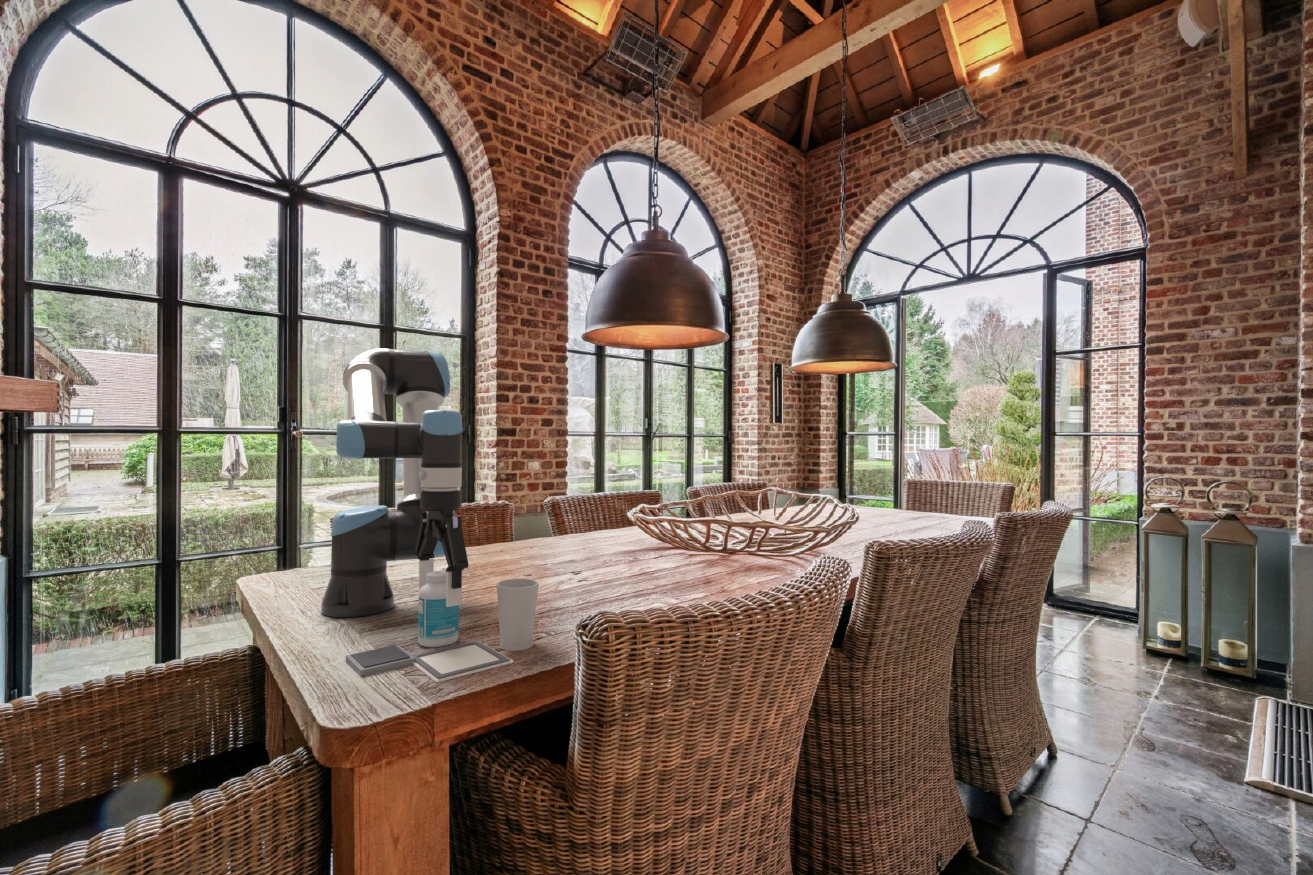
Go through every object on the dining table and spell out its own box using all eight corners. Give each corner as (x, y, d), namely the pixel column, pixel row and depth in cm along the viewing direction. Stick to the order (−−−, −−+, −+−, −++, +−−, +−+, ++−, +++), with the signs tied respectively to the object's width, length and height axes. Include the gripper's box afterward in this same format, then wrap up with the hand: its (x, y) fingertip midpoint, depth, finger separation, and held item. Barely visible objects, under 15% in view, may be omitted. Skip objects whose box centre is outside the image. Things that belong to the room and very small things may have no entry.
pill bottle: (466, 638, 120) (467, 571, 120) (441, 650, 113) (442, 578, 113) (435, 634, 123) (436, 567, 123) (409, 645, 116) (410, 575, 116)
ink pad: (345, 660, 107) (345, 654, 107) (397, 649, 113) (397, 643, 113) (360, 676, 100) (361, 669, 100) (415, 663, 106) (415, 656, 106)
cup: (499, 638, 121) (500, 578, 121) (539, 638, 121) (540, 578, 121) (491, 652, 113) (493, 588, 113) (535, 651, 113) (536, 588, 113)
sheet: (405, 658, 109) (405, 655, 109) (478, 642, 118) (478, 639, 118) (436, 682, 98) (436, 679, 98) (513, 662, 108) (513, 659, 108)
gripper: (398, 486, 125) (397, 589, 124) (448, 493, 106) (446, 615, 106) (434, 485, 130) (433, 584, 129) (488, 492, 111) (486, 608, 111)
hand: (439, 598), depth 117 cm, fingers open, 13 cm apart
